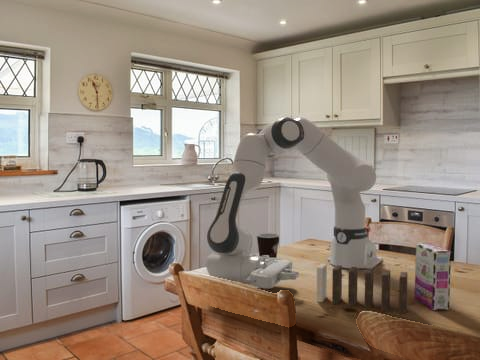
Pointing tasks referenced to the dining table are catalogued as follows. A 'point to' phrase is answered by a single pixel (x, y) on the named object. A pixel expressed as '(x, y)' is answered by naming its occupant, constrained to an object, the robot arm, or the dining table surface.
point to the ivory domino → (321, 282)
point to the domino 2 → (352, 286)
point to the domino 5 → (403, 292)
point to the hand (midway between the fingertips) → (297, 275)
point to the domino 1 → (337, 284)
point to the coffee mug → (268, 244)
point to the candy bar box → (432, 276)
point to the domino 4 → (385, 290)
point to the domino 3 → (369, 288)
